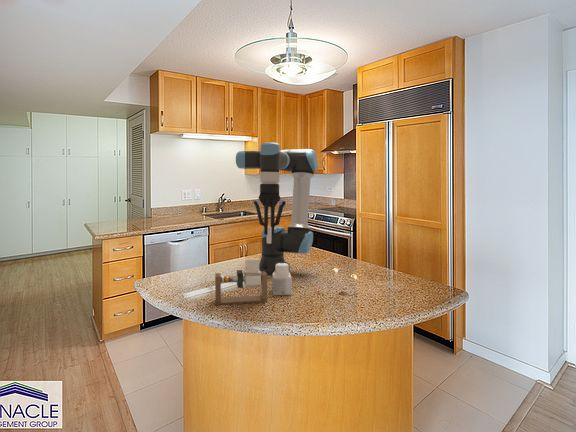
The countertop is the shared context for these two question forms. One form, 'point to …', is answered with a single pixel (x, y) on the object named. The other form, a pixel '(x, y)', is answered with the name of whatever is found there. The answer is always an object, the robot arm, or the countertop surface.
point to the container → (281, 279)
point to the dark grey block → (240, 279)
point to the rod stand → (241, 299)
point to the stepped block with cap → (252, 273)
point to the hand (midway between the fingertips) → (268, 242)
